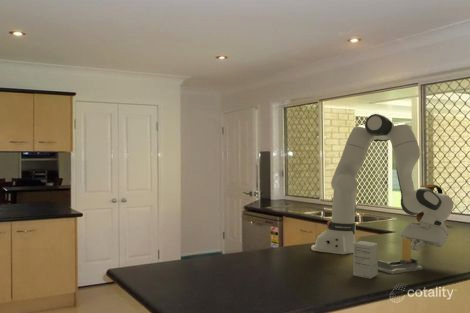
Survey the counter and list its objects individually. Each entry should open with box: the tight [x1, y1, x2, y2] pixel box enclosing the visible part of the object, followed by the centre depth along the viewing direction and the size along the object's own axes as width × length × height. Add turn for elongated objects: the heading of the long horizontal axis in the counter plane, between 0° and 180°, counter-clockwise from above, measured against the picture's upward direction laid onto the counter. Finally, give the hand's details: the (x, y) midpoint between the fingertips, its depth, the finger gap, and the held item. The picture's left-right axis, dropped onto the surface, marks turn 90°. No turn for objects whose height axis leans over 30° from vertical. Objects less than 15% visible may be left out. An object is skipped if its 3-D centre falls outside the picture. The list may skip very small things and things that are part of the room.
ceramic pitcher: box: [415, 184, 447, 223], centre depth 316 cm, size 20×20×30 cm
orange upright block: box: [399, 237, 412, 264], centre depth 182 cm, size 4×3×11 cm
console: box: [378, 257, 424, 275], centre depth 179 cm, size 18×10×4 cm, turn 118°
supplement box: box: [352, 240, 379, 279], centre depth 168 cm, size 7×7×13 cm
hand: (414, 249), depth 184 cm, fingers closed
